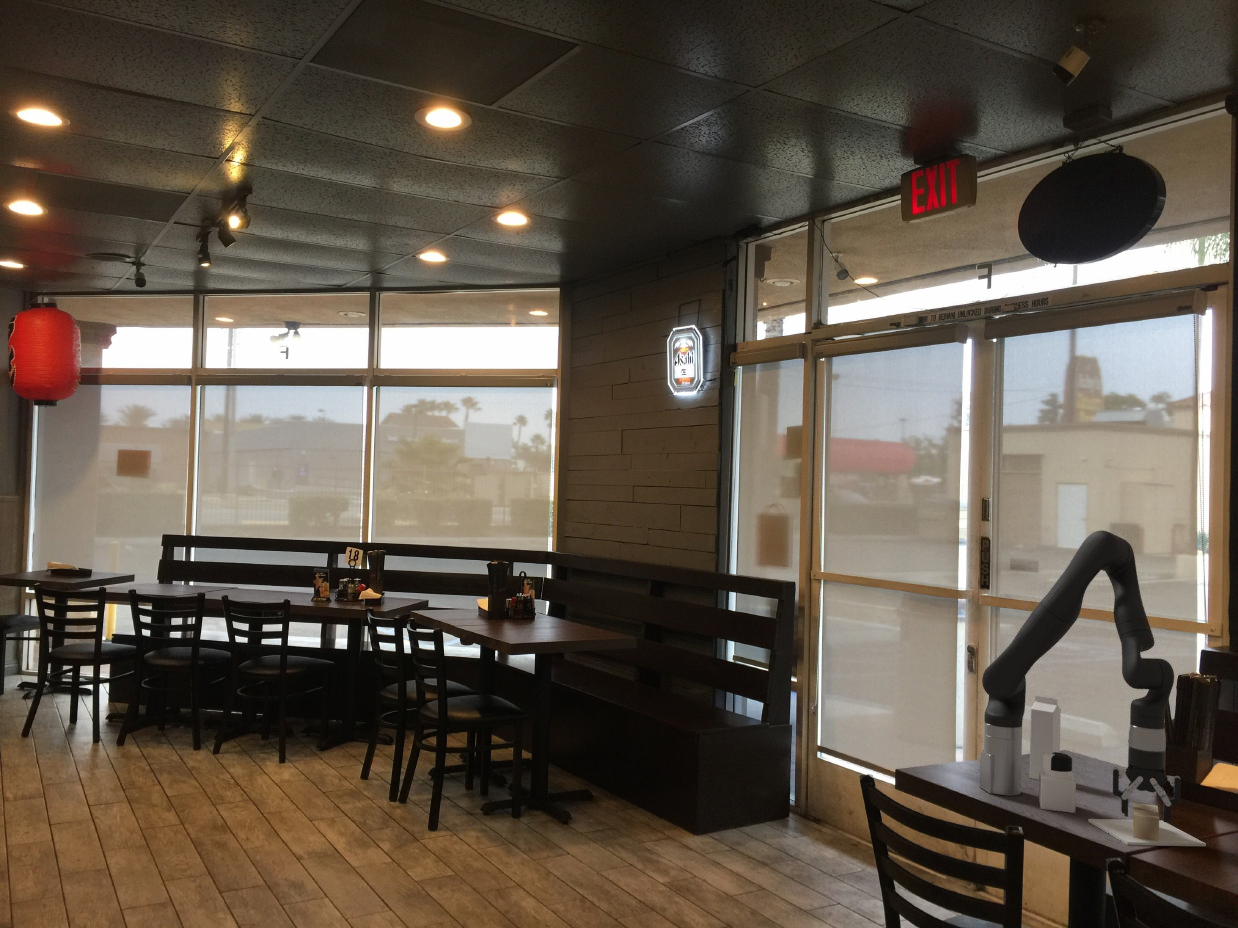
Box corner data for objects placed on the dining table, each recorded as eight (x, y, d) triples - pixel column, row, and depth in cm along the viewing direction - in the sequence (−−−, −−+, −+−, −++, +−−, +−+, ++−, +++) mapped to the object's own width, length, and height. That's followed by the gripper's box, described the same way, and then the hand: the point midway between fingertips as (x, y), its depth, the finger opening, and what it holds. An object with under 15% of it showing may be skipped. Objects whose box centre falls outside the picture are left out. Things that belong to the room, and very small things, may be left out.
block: (1158, 841, 221) (1157, 826, 231) (1159, 818, 221) (1157, 804, 231) (1133, 837, 223) (1132, 822, 234) (1133, 814, 223) (1133, 801, 234)
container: (1072, 804, 248) (1073, 752, 249) (1075, 813, 241) (1076, 759, 242) (1038, 800, 251) (1039, 748, 252) (1040, 809, 244) (1042, 755, 244)
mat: (1127, 844, 219) (1127, 841, 219) (1088, 821, 235) (1088, 818, 235) (1205, 846, 220) (1205, 843, 220) (1161, 822, 236) (1161, 820, 236)
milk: (1051, 782, 268) (1053, 700, 269) (1028, 778, 273) (1030, 696, 273) (1059, 778, 273) (1061, 697, 274) (1036, 773, 277) (1038, 694, 278)
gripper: (1181, 746, 229) (1180, 819, 228) (1111, 738, 235) (1110, 808, 235) (1183, 753, 222) (1182, 828, 221) (1111, 744, 228) (1110, 817, 228)
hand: (1145, 818), depth 228 cm, fingers open, 7 cm apart
